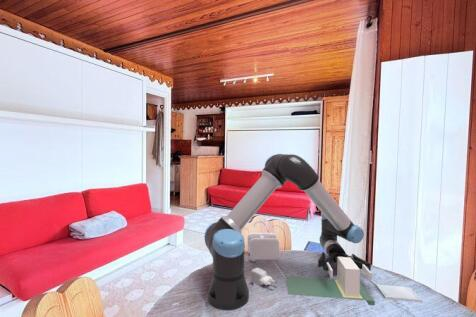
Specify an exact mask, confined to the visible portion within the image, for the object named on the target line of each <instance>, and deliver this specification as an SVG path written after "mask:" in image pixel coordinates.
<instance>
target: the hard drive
mask: <svg viewBox="0 0 476 317" xmlns="http://www.w3.org/2000/svg"><path fill="white" fill-rule="evenodd" d="M375 288H376V289H377V291H378V292H379V293H380V294H381V296H382V297H383V298H384V300H391V301H404V302H412V301H415V303H423V299H422V298H421V296H419V295H418V294H417V293H416V292H415V291H414V290H413V289H412V288H411V287H408V286H407V287H406V286H398V285H384V284H375Z"/></svg>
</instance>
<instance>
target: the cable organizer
mask: <svg viewBox="0 0 476 317" xmlns="http://www.w3.org/2000/svg"><path fill="white" fill-rule="evenodd" d="M247 253H248V254H249V253H250V254H249V258H250V260H251V261H252V262H254V263H256V262H257V261H258V260H259V261H273V262H278V261H279V259H280V241H279V239H278V238H277V236H276V234H275V233H274V232H249V233H248V234H247Z"/></svg>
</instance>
